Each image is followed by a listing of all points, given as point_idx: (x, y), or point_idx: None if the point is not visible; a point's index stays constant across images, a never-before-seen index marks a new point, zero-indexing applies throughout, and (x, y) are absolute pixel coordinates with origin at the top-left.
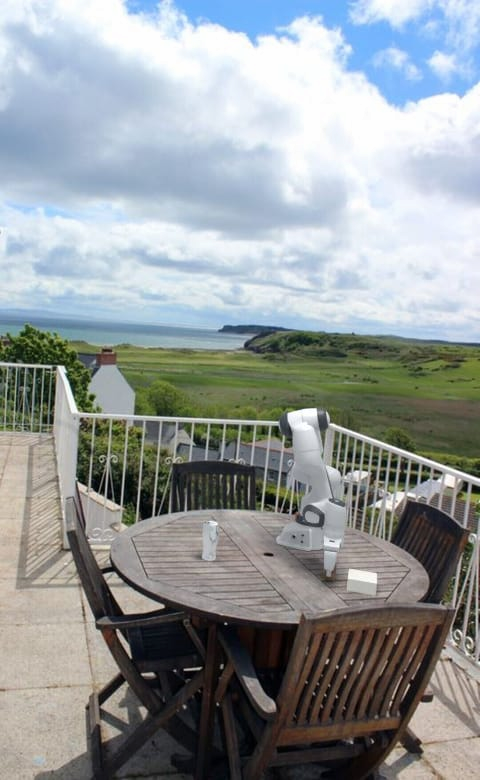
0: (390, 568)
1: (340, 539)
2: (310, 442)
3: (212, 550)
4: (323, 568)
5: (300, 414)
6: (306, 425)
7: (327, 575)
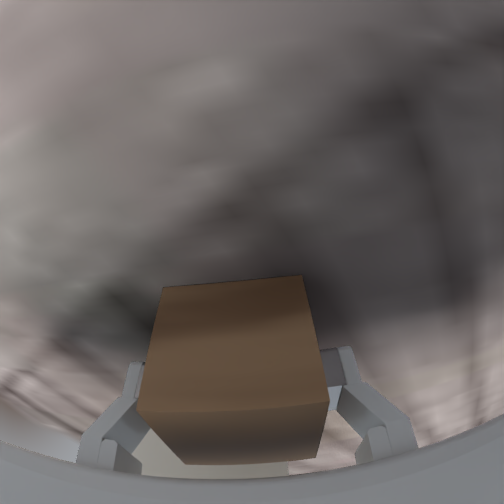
0: (463, 431)
1: None
2: None
3: None
4: (141, 393)
5: None
6: None
7: (132, 372)
